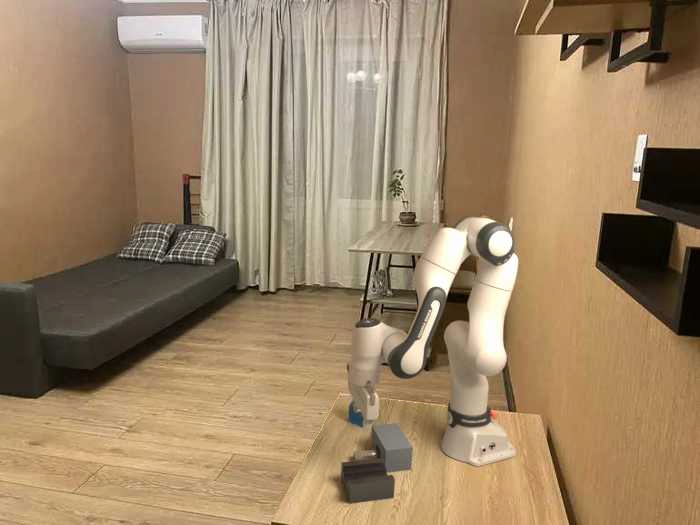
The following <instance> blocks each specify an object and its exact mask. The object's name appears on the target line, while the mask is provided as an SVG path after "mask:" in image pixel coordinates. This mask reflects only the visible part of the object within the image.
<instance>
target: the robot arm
mask: <svg viewBox="0 0 700 525" xmlns="http://www.w3.org/2000/svg"><path fill="white" fill-rule="evenodd" d="M469 256H473V257H477V258H478V261H479V262H478V263H479V265H478V270H477V273H476V275H475V279H474V281H473V284H472V289H471V291H470V293H469V297H468V300H467V310H468V320H469V321H465V320H455V321H452V322H451V323H449V325H447V326H446V329H444V333H443V339H444V340H443V341H444V343H445V346H446V349H447V356H448V362H449V363H448V364H449V370H450V371H449V372H450V393H449V395H450V397H449V402H448V405H447V413H446V422H447V424H446V426H445V427H446V428H445V432H444V435H443V437H442V440H441V442H440V448H441V450H442V452H443V453H444V454H445V455H447V456H448V457H450V458H451V459H454V460H457V461H460V462H464V463H467V464H469V465H472V466H474V467H482V466H486V465H489V464H493V463H497V462H500V461H503V460H507V459H511V458H515V457H516V450H515V448H514V445H513V444H512V443H511V442H510V440H509V438H508V434H507V432H506V430H505V429H504V428H503V426H502V425H500V423H498V422H497V421H496V420H497V419H498V418H499V414H498V413H497V412H496V411H495V410H492V408H491V407H489V406H488V400H489V398H488V397H489V389H490V385H489V381H488V379H487V377H493V376H496V375H498V374H500V373H501V372H502V371H503V369H504V368H505V367H506V364H507V360H508V359H507V358H508V357H507V353H506V349H505V345H504V344H505V343H504V327H505V325H504V324H505V318H506V313H507V310H508V306H509V303H510V300H511V296H512V294H513V290H514V287H515V284H516V280H517V275H518V269H519V259H518V256H517V254H515V236H514V234H513V231H512V229H510V227H508V226H507V225H506V224H504V223H502V222H500V221H496V220H494V219H491V218H488V217H487V218H486V217H478V216H466V217H463V218H462V219H460V220H459V221H457V222H456V223H455V225H454V226H453V225H452V227H442V228H440V229H438V230H437V231H436V232H435V234H434V235H433V236H432V237H431V238H430V240H429V242H428V243H427V245H426V246H425V247H424V249H423V251H422V253H421V255H420V256H419V258H418V261H417V263H416V265H415V268H414V271H413V274H412V282H413V285H414V288H415V291H416V294H417V302H418V305H417V310H416V314H415V317H414V319H413V320H412V323H411V326H410V328H409V331H408V333H406V331H405V330H402V329H401V328H397V327H393V326H390V325H388V324H386V323H384V322H382V320H381V319H379V318H375V317H368V318H367V317H366V318H363V319H360V320H358V321H356V323H355V324H354V326H353V329H352V334H351V341H350V342H351V343H350V354H351V359H350V360H349V362H348V363H346V371H347V387H348V391H349V393H350V395H351V397H352V401H353V403H354V411H355V413H360V412H361V413H362V415H363V418H364V420H363V421H362V427H363V428H362V427H361V428H362V429H363V430H369V429H370V425H371V423H370V422H371V421H373V422H375V421H377V420H378V418H379V412H380V411H379V410H380V409H379V408H380V401H379V400H380V398H379V394H378V392H377V390H376V388H375V386H378V384H380V380H381V371H382V370H381V369H382V368H381V366H382V364H384V363H385V364H387V365H388V368H389V369H390V370H391V372H392V374H393V375H394V376H395V377H396V378H399V379H402V380H407V379H408V380H410V379H413V378H416V377H417V376H418V375H420V374H421V373H422V372H423V371H424V369H425V367H426V365H427V360H428V351H429V347H430V344H431V341H432V339H433V337H434V334H435V331H436V329H437V327H438V324H439V322H440V319H441V318H442V314H443V312H444V309H445V306H446V302H447V298H448V294H449V291H450V289H451V286H452V284H453V281H454V279H455V277H456V275H457V273H458V271H459V269H460V267H461V264H462V263H463V262H464V261H465V260H466V259H467V258H468V257H469Z"/></svg>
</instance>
